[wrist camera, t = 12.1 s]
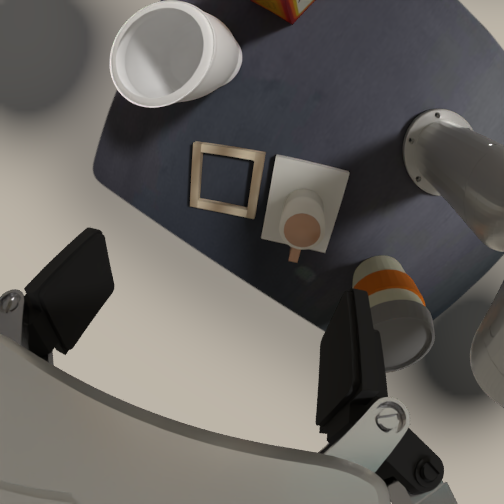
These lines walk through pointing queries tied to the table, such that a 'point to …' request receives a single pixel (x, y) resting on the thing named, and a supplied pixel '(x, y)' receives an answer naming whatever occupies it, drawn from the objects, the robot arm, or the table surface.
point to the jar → (172, 55)
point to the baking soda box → (285, 8)
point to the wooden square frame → (232, 152)
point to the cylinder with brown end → (302, 221)
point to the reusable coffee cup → (396, 311)
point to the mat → (303, 177)
